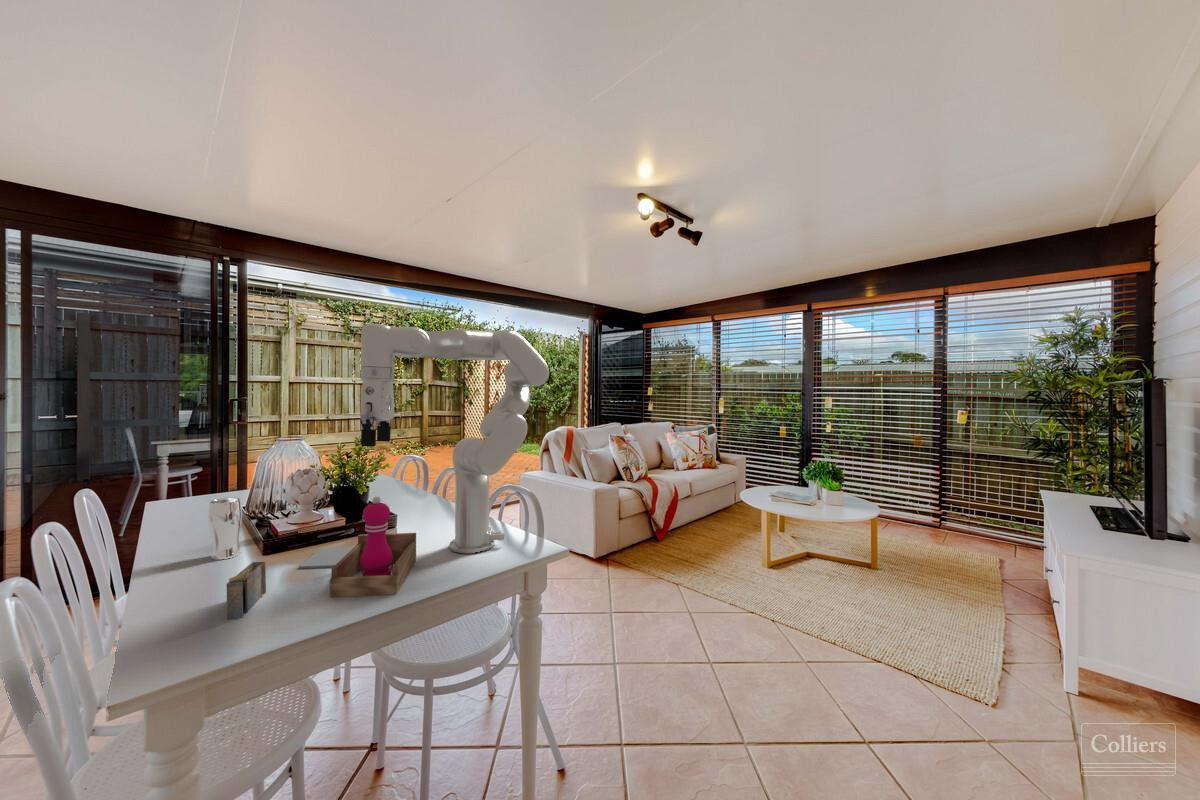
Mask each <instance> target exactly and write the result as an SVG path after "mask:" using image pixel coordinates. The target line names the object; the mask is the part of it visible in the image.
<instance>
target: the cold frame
mask: <svg viewBox="0 0 1200 800" xmlns="http://www.w3.org/2000/svg"><path fill="white" fill-rule="evenodd" d="M367 537H368V535H367V533H366V534H365V533H362V534H361V533H360V534H358V535H357V543H356V545H354V547H352V548H353V549H352V550H351V551H350V552H348V553H347V554H346V555H345V556H344V557H343V558H342V559H341V560H340V561H339V562H338V563H337V564H336V565H335V566H334V567H331V577H330V579H329V598H340V597H344V596H346V597H361V596H362V597H363V596H364V595H367V596H383V595H384V596H387V594H388V595H397V594H398V593H399V591H400V590H401V588H402V586H403V585H402V584H404V583H405V582H406V580H407V578H408V577H407V576H409V575H410V573H411V572H412V571H413V569H412V568H414V567H415V565H416V564H417V532H398V533H397V532H395V533H386V541H387V544H388V546H389V548H390V549H391V552H392V555H393V562H392V564H391V565H390V566H392V574H391V575H381V576H362V575H360V576H355V575H356V574H357V571H360V569H362V568H361V567H360V559H361V556H362V553H363V551H364V549H365V547H366V544H367ZM415 563H416V564H415ZM410 571H411V572H410ZM405 579H406V580H405ZM385 594H386V595H385Z"/></svg>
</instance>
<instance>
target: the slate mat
mask: <svg viewBox="0 0 1200 800" xmlns="http://www.w3.org/2000/svg"><path fill="white" fill-rule="evenodd" d="M353 548H354V547H345V548H320V549H318V550H317V551H316V552H314V553H313V554H312V555H311V556H310V557H308V559H306V560H305V561H304V562H303V563H301V564H300V565H298V569H299V570H300V569H302V570H303V569H325V568H331V569H332V568H333V567H334V566H335V565H336V564H337V563H338V562H339V561H340V560H341V559H342V558H343V557H344V556H345V555H346V554H347V553H348V552H350V551H351V550H352V549H353Z"/></svg>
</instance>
